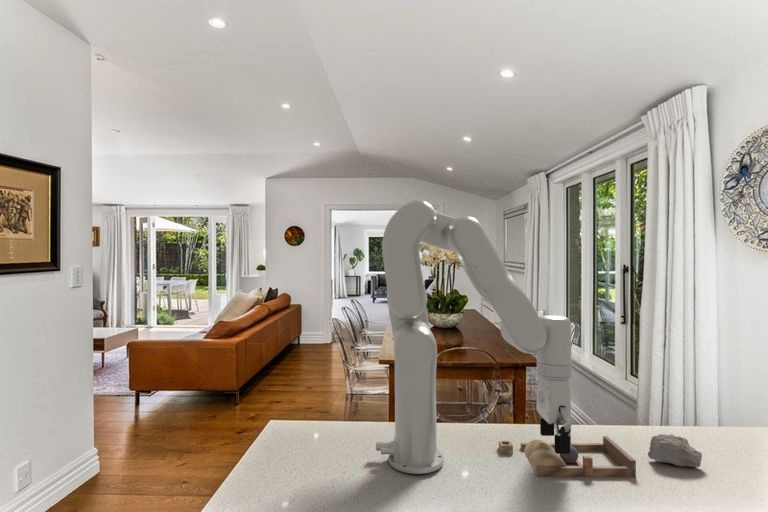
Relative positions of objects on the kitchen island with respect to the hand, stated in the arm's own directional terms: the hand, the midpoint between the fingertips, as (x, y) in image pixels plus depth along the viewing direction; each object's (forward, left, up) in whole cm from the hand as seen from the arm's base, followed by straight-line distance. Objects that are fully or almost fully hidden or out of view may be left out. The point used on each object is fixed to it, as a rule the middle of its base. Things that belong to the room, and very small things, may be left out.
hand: (554, 443), depth 102 cm
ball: (+2, 0, -1) cm, 2 cm away
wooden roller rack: (+6, 0, -4) cm, 7 cm away
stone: (+22, 0, -4) cm, 22 cm away
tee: (-10, +5, -4) cm, 12 cm away
